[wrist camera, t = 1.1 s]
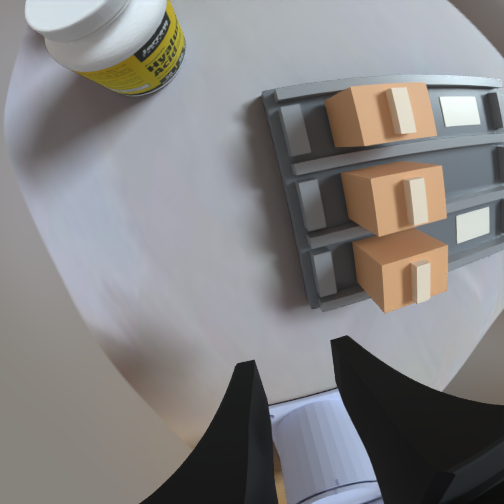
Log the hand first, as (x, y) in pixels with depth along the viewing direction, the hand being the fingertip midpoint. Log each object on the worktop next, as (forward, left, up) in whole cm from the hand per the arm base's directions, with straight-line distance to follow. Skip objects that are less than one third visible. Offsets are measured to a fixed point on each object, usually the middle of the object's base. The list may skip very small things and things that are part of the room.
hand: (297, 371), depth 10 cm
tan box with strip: (+4, -7, -8) cm, 11 cm away
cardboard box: (0, -7, -8) cm, 10 cm away
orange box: (+8, -7, -8) cm, 13 cm away
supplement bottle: (+15, +4, -10) cm, 18 cm away
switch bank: (+4, -11, -9) cm, 15 cm away
